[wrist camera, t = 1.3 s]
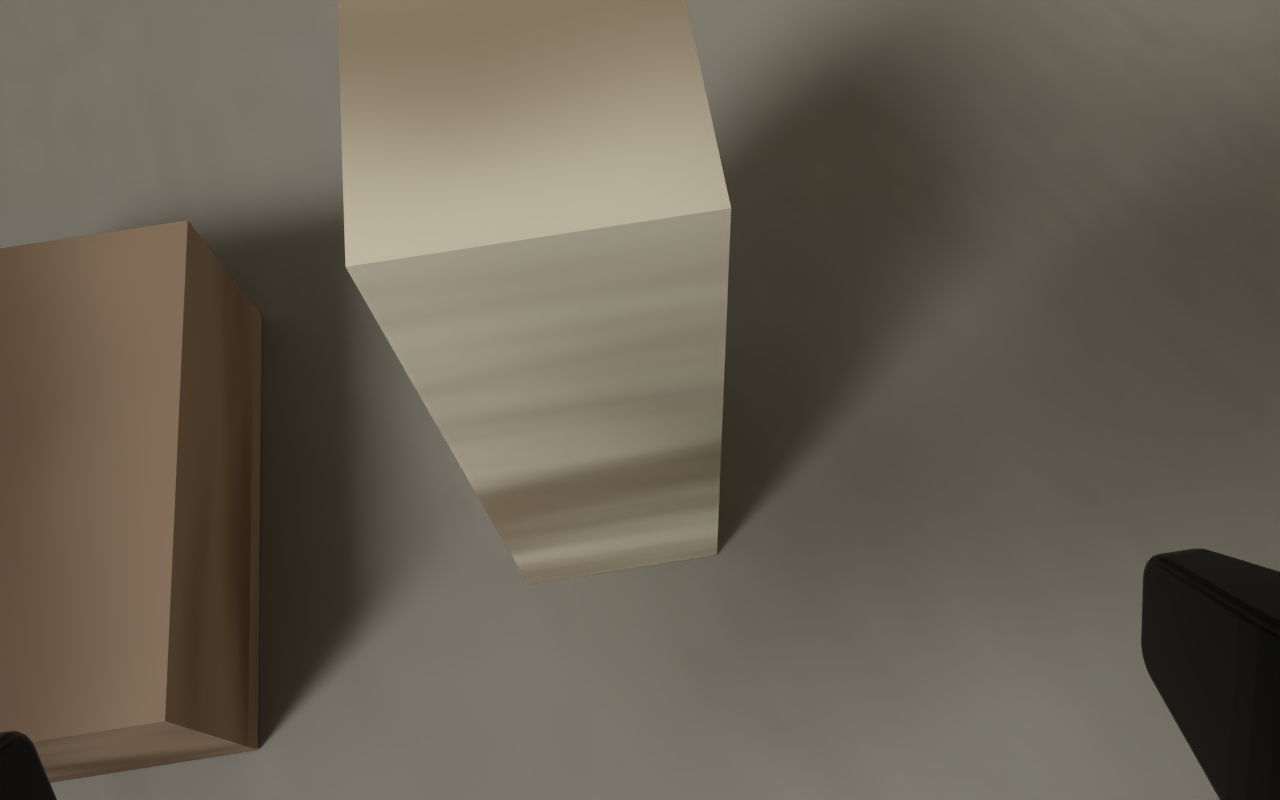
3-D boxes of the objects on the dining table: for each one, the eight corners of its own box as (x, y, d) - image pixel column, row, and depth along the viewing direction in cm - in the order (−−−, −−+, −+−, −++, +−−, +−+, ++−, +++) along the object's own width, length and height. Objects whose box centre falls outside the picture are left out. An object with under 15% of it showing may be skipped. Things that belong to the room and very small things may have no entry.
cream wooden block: (716, 554, 22) (731, 208, 11) (528, 584, 22) (346, 267, 11) (679, 346, 24) (657, -126, 13) (506, 373, 24) (334, -78, 13)
